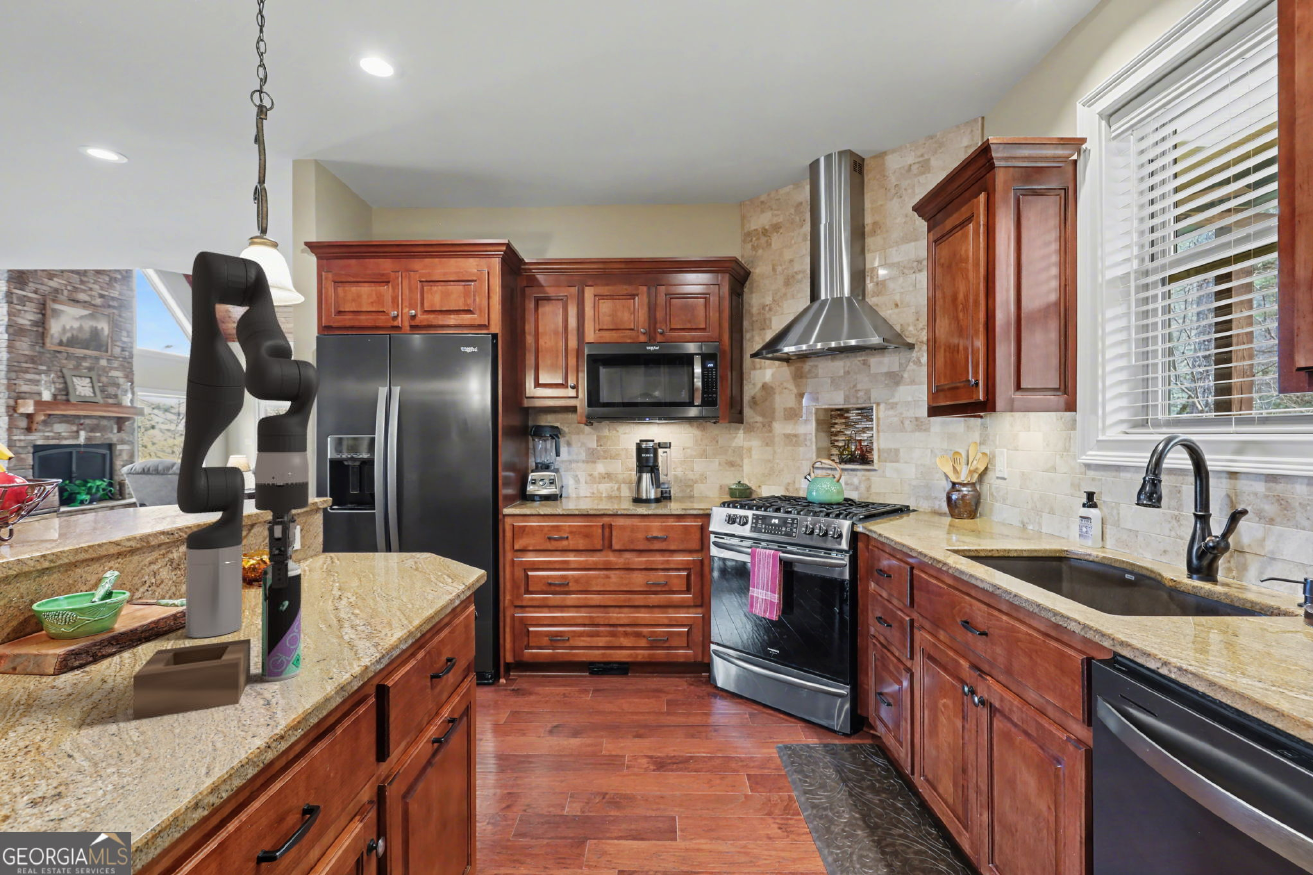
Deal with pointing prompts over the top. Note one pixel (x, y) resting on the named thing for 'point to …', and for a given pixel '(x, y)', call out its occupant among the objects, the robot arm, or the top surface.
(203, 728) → the top surface
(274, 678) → the spray can
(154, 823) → the top surface
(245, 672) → the walnut holder
